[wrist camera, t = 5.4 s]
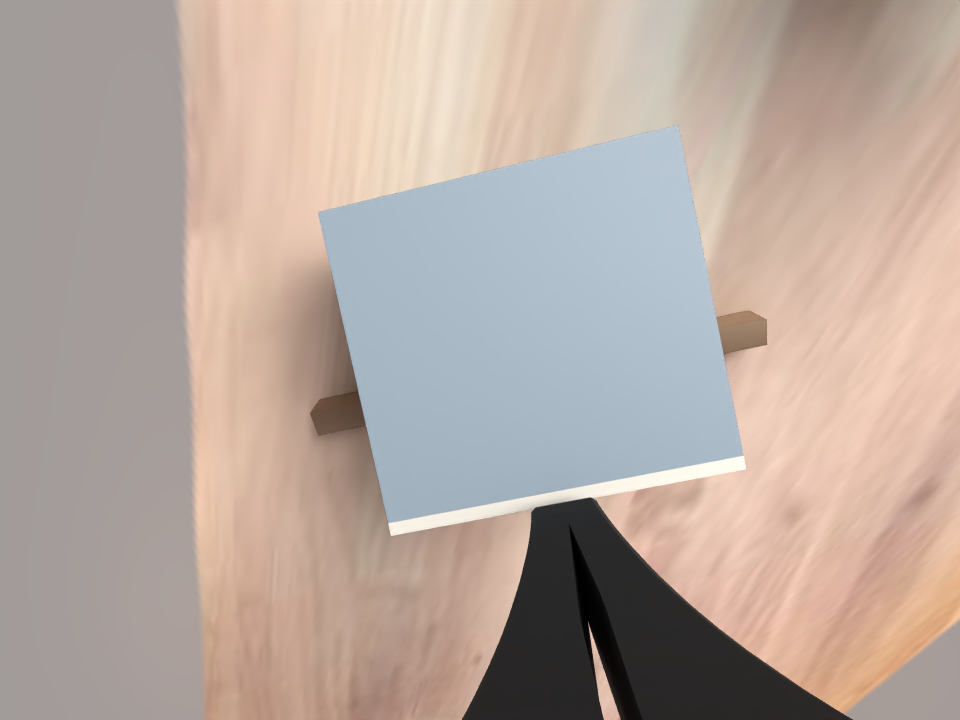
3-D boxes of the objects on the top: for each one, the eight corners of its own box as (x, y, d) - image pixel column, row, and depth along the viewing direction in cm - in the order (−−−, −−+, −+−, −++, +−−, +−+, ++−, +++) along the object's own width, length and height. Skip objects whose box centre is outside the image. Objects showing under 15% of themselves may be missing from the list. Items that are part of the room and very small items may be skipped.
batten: (750, 334, 16) (767, 344, 15) (327, 420, 17) (318, 435, 16) (749, 310, 16) (766, 319, 15) (319, 399, 17) (309, 413, 16)
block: (746, 469, 11) (677, 125, 11) (390, 535, 12) (317, 212, 11) (684, 433, 15) (633, 181, 15) (422, 483, 16) (369, 244, 15)
